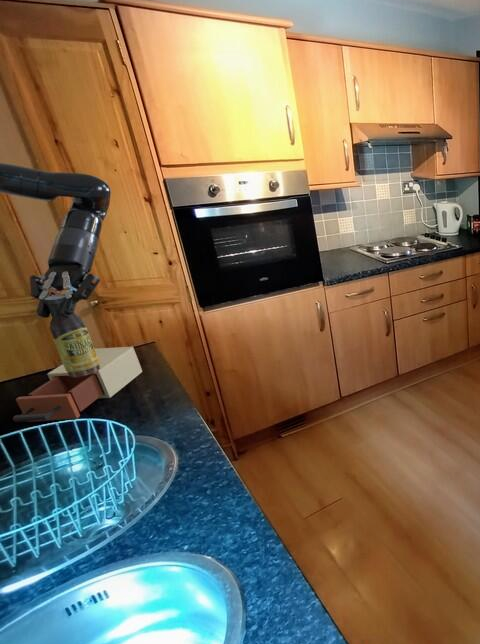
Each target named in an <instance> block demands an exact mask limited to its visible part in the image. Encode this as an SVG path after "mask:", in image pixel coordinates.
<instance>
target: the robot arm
mask: <svg viewBox="0 0 480 644" xmlns="http://www.w3.org/2000/svg"><path fill="white" fill-rule="evenodd" d="M0 193H1V194H5V195H11V196H16V197H21V198H26V199H33V200H40V201H47V202H53V201H56V200H57V199H58V198H59V197H61V198H62V197H63V198H64V197H65V198H72V199H71V203H70V207H69V210H68V211H66V213H65V215H64V216H63V219H62V222H61V225H60V228H59V230H58V232H57V234H56V236H55V238H54V240H53V241H54V242H53V245H52V247H51V250H50V253H49V257H48V259H47V265H48V269H47V270H46V271H45V272H44V274H42V275H39V276H38V275H35V274H32V275H30V276H29V287H30V296H31V298H34V299H36V300H38V301H39V303H38V306H37V308H36V314H37V316H39V317H41V318H44V319H48V318H49V317H50V316H51V312H50V310H49V307H48V305H46V304H45V300H44V299H45V298H46V297H49V296H53V295H60V294H62V293H63V291H64V294H65V298H66V299H64V300H63V303H62V307H61V310H60V315H62V316H65V317H70V316H71V314H73V313H75V310H76V306H77V303H79V302H80V301H81V300H83V301H86V300H88V299H89V298H90V296H91V295H92V293H93V292H94V291H95V289H96V287H97V286H98V285H99V283H100V282H101V278H100V277H98V276H96V275H94V273H91V271H92V267H93V263H94V260H95V257H96V253H97V250H98V244H99V239H100V235H101V231H102V228H103V222H104V220H105V218H106V215H107V213H108V210H109V207H110V203H111V195H112V191H111V186H110V184H108V182H107V181H105V180H103V179H102V178H100V177H97V176H95V175H92V174H87V173H79V172H61V171H59V172H58V171H57V172H56V171H55V172H53V171H45V170H40V169H35V168H30V167H26V166H21V165H15V164H10V163H3V162H0Z"/></svg>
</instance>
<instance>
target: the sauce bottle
mask: <svg viewBox="0 0 480 644" xmlns="http://www.w3.org/2000/svg"><path fill="white" fill-rule="evenodd" d="M64 299H66V298H65V293H63V294H62V293H61V294H60V295H53V296H50V295H48V296H47V297H46V298H45V299H44V300H45V304H46V305H48V307H49V310H50V312H51V313H50V316H51V319H50V322H49V331H50V333H51V335H52V340H53V342H54V345H55V347H56V350H57V352H58V354H59V357H60V360H61V362H62V364H63V365H64V367H65V370H66V371H67V372H68V375H69V376H70V377H73V378H77V377H84V376H88V375H91V374H93V373H95V372H97V371H99V370H100V365H99V363H100V362H99V359H98V357H97V354H96V352H95V349H96V348H95V347H94V344H93V341H92V338H91V336H90V333H89V330H88V328H87V326H86V324H85V323H84V321H83V319H82V318H81V317H80V316H79V315H78V314H77V313H75V312H74V313H73V314H71V316H70V317H65V316H62V315H60V310H61V307H62V303H63V300H64Z"/></svg>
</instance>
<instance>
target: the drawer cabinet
mask: <svg viewBox="0 0 480 644" xmlns="http://www.w3.org/2000/svg"><path fill="white" fill-rule="evenodd" d="M94 349H95V352H96V354H97V357H98V359H99V362H100V363H99V365H100V370H99V371H97V372H95V373H93V374H97V376H98V379H99V381H100V383H101V386H102V388H103V390H104V394H103V395H102V396H100V397H99V398H98V399H97V400H100V399H111V398H112V397H113V396H114V395H116V394H117V393H118V392H119V391H121V390H122V389H123V388H125V387H126V385H128V384H129V383H131V382H132V381H133V380H134V379H135V378H137V377H138V376H139V375H140V374H142V373H143V369H142V366H141V364H140V360H139V359H138V356H137V353H136V351H135V348H134V346H121V347H120V346H119V347H101V348H94ZM46 374H47V376H48V379H49V381H50V380H51V379H53V378H54V377H56V376H67V375H68V372H67V371H66V370H65V367H64V365H63V363H62V364H61V365H59V366H58V367H56V368H54V369H52V370H51V371H49V372H48V373H46Z"/></svg>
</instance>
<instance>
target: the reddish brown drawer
mask: <svg viewBox="0 0 480 644" xmlns="http://www.w3.org/2000/svg"><path fill="white" fill-rule="evenodd" d="M103 394H104V390H103V388H102V386H101V383H100V381H99V379H98V376H97V374H91V375H88V376H84V377H77V378H73V377H70V376H69V375H67V376H56V377H54V378H53V379H51V380H50V379H49V380H48V381H46V382H45V383H43V384H42V385H40V386H39V387H37V388H35V389H34V390H33V391H31V392H29V393H28V396H18V397H17V398H16V399H15V402H16V403H17V405H18V407H19V409H20V410H21V414H16V415H14V416H13V418H12V420H13V422H15V423H20V422H27V423H32V422H47V421H61V420H63V421H64V420H76V419H78V418H80V417H81V414H80V413H82V412H83V411H84V410H85V409H86V408H88V407H89V406H90V405H92V404H93V403H94V402H95V401H97V400H99V399H98V398H99V397H100V396H102V395H103Z"/></svg>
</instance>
